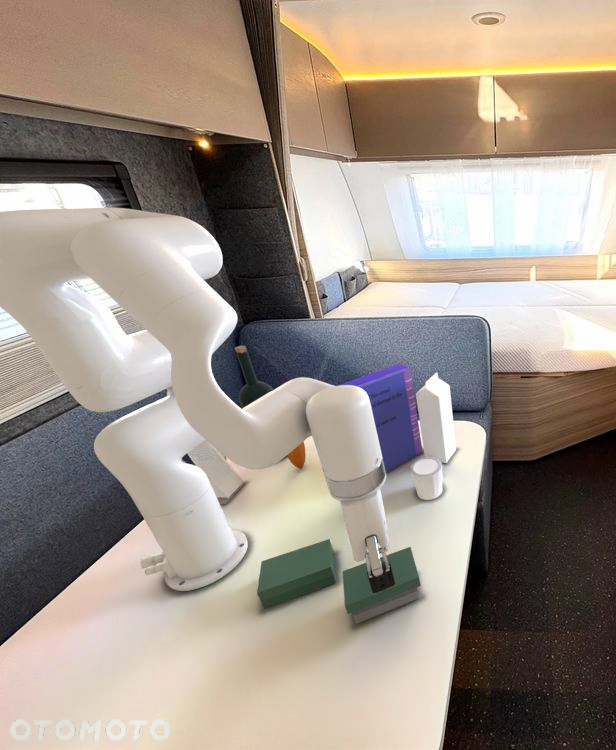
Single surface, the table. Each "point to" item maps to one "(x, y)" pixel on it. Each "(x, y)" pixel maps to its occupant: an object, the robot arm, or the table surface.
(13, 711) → the table surface
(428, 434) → the milk
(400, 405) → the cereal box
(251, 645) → the table surface
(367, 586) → the green flat block
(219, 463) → the skyscraper
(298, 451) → the carrot
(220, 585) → the table surface
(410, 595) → the grey books
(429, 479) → the white cylinder
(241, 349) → the wine bottle
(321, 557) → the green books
